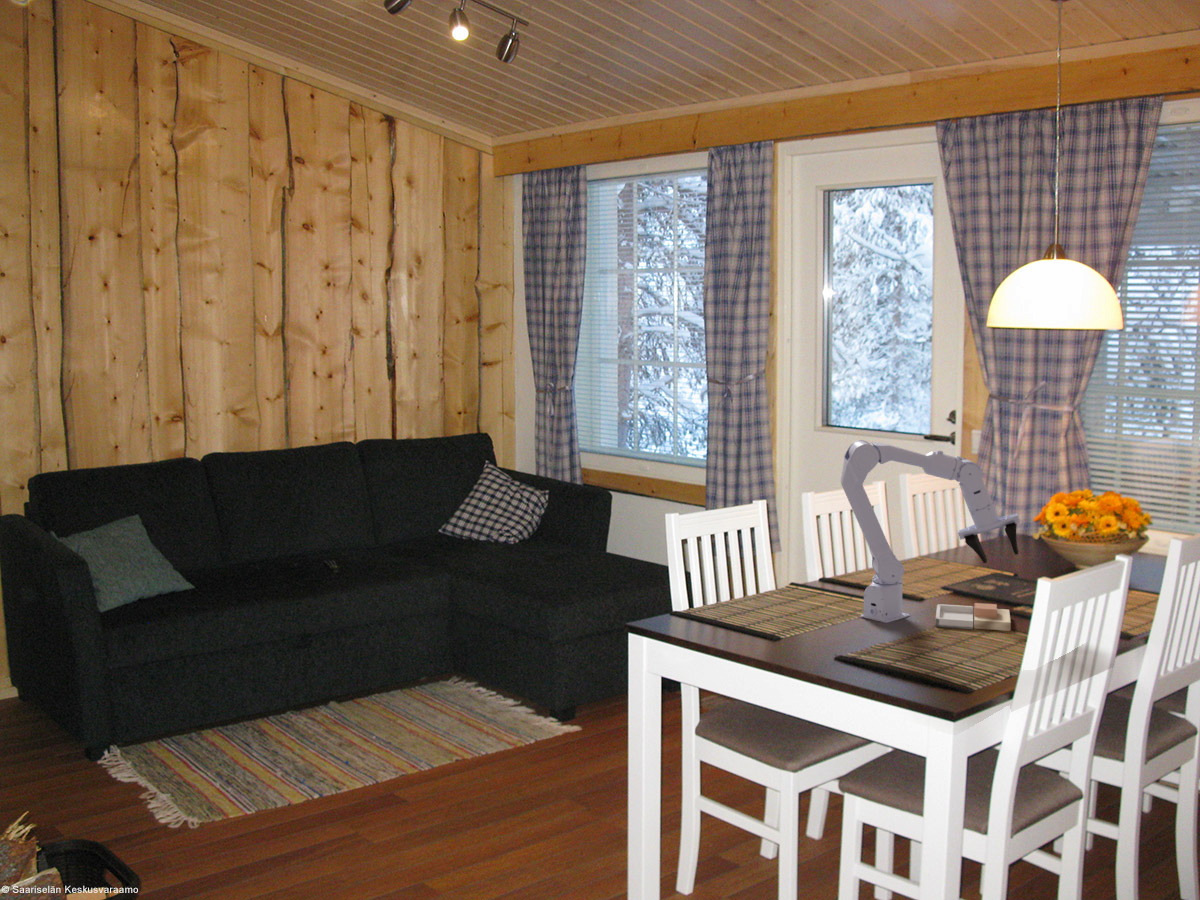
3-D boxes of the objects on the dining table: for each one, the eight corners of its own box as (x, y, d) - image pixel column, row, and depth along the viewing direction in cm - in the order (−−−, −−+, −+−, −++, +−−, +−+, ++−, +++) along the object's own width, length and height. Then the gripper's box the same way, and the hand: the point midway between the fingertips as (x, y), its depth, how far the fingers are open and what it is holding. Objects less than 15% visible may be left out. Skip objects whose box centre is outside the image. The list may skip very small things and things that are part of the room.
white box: (974, 628, 262) (974, 620, 261) (974, 615, 273) (974, 607, 273) (1010, 630, 259) (1010, 622, 259) (1008, 617, 270) (1009, 609, 270)
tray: (935, 626, 264) (935, 618, 263) (937, 611, 277) (937, 603, 276) (973, 629, 261) (973, 621, 261) (972, 614, 274) (973, 606, 274)
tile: (974, 616, 265) (974, 608, 265) (974, 611, 269) (974, 602, 269) (996, 617, 263) (996, 609, 263) (996, 612, 268) (996, 604, 268)
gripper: (1011, 492, 269) (1031, 543, 270) (953, 510, 276) (973, 559, 277) (1009, 501, 263) (1030, 553, 264) (950, 518, 269) (970, 569, 270)
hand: (1001, 557), depth 270 cm, fingers open, 7 cm apart
